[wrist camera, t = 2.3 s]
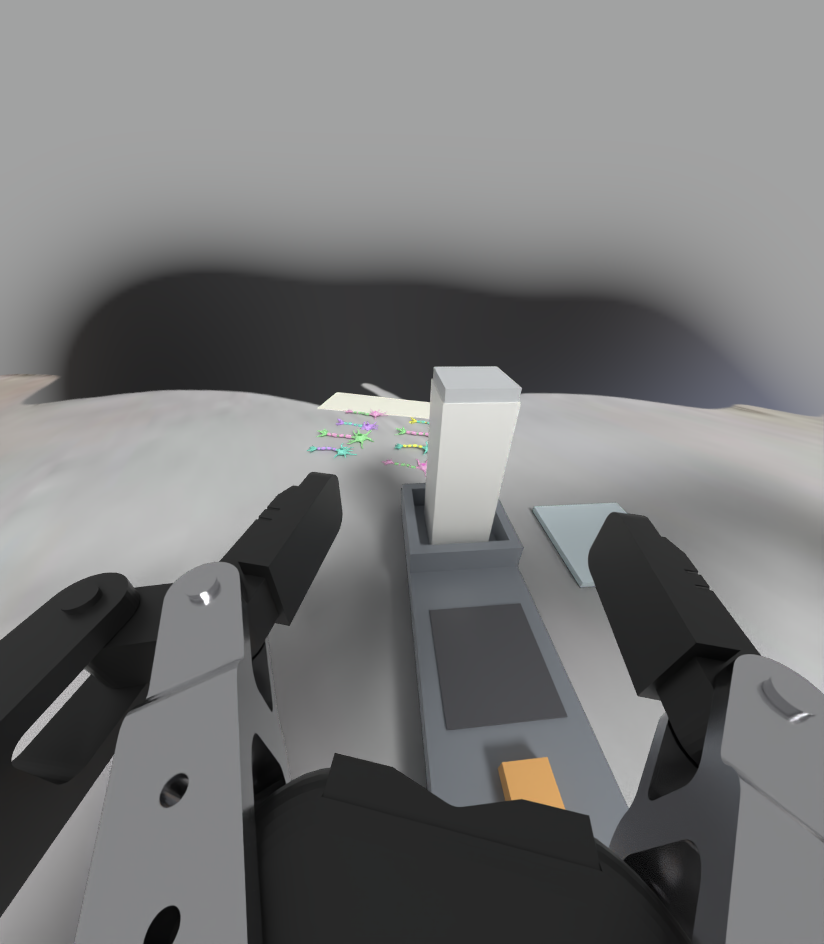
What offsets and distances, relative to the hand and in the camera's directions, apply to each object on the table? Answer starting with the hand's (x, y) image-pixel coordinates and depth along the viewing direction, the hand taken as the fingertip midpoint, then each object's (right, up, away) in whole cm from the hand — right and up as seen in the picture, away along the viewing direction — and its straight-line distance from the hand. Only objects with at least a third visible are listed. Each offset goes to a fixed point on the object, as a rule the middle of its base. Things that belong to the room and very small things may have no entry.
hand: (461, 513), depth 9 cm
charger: (+2, -4, +16) cm, 16 cm away
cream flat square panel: (-5, +5, +35) cm, 35 cm away
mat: (+16, -5, +19) cm, 25 cm away
